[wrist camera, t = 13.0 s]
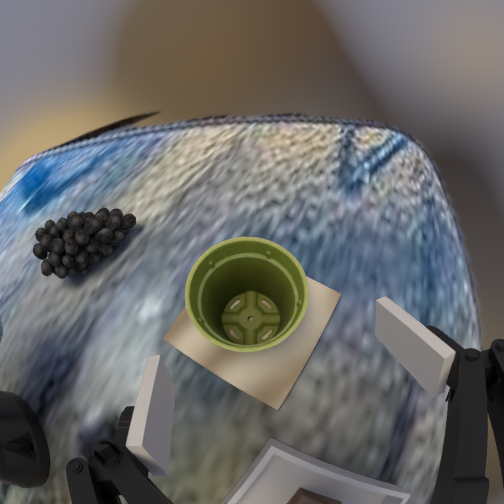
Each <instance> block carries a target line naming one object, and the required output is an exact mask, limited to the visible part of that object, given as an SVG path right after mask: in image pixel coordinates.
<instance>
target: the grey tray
mask: <svg viewBox="0 0 504 504" xmlns="http://www.w3.org/2000/svg"><path fill="white" fill-rule="evenodd" d="M299 487H301V488H304V489H306V490H309V491H312V492H314V493H317V494H320V495H323V496H326V497H329V498H332V499H335V500H338V501H341V503H342V504H405V503H406V502H407V500H408V499H409V497H410V496H411V494H409V493H408V492H406V491H404V490H402V489H401V488H399V487H397V486H395V485H394V484H390V483H386V482H383V481H379V480H376V479H372V478H369V477H366V476H363V475H360V474H357V473H354V472H351V471H348V470H345V469H342V468H339V467H337V466H334V465H331V464H329V463H326V462H324V461H321V460H319V459H316V458H314V457H312V456H309V455H307V454H305V453H302V452H300V451H298V450H296V449H293V448H291V447H289V446H287V445H285V444H283V443H281V442H279V441H277V440H275V439H273V438H271V437H270V439H269V440H268V442H267V443H266V445H265V446H264V448H263V449H262V450H261V452H260V453H259V455H258V456H257V457H256V459H255V460H254V462H253V463H252V464H251V466H250V467H249V468H248V470H247V471H246V472H245V474H244V475H243V476H242V478H241V479H240V480H239V481H238V483H237V484H236V485H235V487H234V488H233V489H232V490H231V492H230V493H229V494H228V495H227V496H226V498H225V499H224V500H223V501H222V502H221V504H287V503H288V501H289V500H290V499H291V498H292V496H293V495H294V494H295V493H296V491H297V490H298V489H299Z"/></svg>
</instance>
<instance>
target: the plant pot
mask: <svg viewBox="0 0 504 504" xmlns="http://www.w3.org/2000/svg"><path fill="white" fill-rule="evenodd" d="M308 299H309V287H308V282H307V278H306V275H305V273H304V270H303V268H302V267H301V265H300V263H299V262H298V261H297V259H296V258H295V257H294V256H293V255H292V254H291V253H290V252H288V251H287V250H286V249H284V248H283V247H281V246H280V245H278V244H276V243H274V242H271V241H268V240H265V239H261V238H256V237H238V238H232V239H229V240H226V241H223V242H221V243H218V244H216V245H215V246H213V247H211V248H210V249H209V250H207V251H206V252H205V253H204V254H203V255H202V256H201V257H200V258H199V259H198V260H197V261H196V263H195V264H194V266H193V268H192V269H191V271H190V273H189V276H188V279H187V282H186V288H185V304H186V309H187V312H188V315H189V317H190V319H191V321H192V323H193V324H194V326H195V328H196V329H197V330H198V331H199V332H200V333H201V334H202V335H203V336H204V337H205V338H206V339H207V340H209V341H210V342H212V343H213V344H215V345H217V346H219V347H221V348H224V349H227V350H230V351H235V352H258V351H262V350H266V349H269V348H271V347H274V346H276V345H277V344H279V343H281V342H282V341H284V340H285V339H286V338H288V337H289V336H290V335H291V334H292V333H293V332H294V331H295V330H296V328H297V327H298V326H299V324H300V323H301V321H302V319H303V317H304V315H305V312H306V310H307V306H308ZM237 300H240V302H239V303H238V304H236V305H235V306H234V307H233V308H232V309H230V306H231V305H232V304H233V303H234V302H235V301H237ZM261 300H265V301H267V302H268V303H269V304H270V306H271V309H269V308H268V307H267V306H266V305H265V304H264V303H262V302H261ZM250 316H252V317H253V320H252V321H249V320H248V317H250ZM230 329H231V330H233V332H234V333H235V334H236V335H237V336H238V337H239V338H240V339H236V338H235V337H233V336H232V335H231V334H230V331H229V330H230ZM269 330H271V331H272V332H271V333H270V334H269V335H268V337H267V338H265V339H261V337H263V336H264V335H265V334H266V333H267V332H268V331H269Z"/></svg>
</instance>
